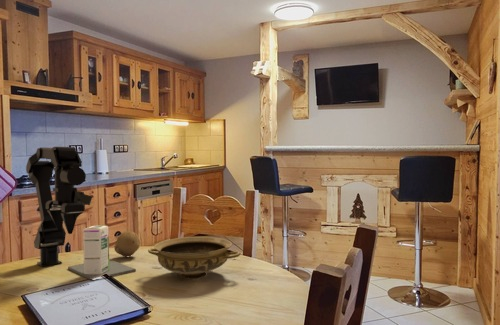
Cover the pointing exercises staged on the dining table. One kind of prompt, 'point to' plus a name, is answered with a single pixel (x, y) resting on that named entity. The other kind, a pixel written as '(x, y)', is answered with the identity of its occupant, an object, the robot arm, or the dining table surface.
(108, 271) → the rubber mat
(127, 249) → the natural sponge
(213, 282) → the dining table surface
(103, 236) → the syrup box
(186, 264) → the ceramic bowl
